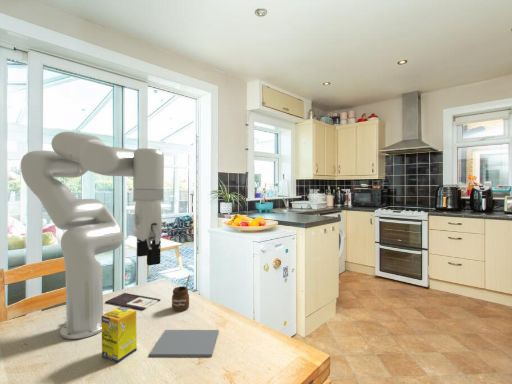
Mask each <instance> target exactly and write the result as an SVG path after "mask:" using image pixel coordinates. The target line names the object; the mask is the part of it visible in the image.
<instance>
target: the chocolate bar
mask: <svg viewBox="0 0 512 384" xmlns="http://www.w3.org/2000/svg"><path fill="white" fill-rule="evenodd" d="M104 302H105V304H108V305H113V306H118V307H123V308H127V309H131V310H136V311H137V310H139V311H142V312H143V311H145V310H147V309H148V308H150V307H152V306H154V305H155V304H158V303H159V302H161V299H159V298H155V297H150V296H145V295H139V294H133V293H126V292H123V293H121V294H119V295H117V296H115V297H112V298H110V299H108V300H105V301H104Z"/></svg>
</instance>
